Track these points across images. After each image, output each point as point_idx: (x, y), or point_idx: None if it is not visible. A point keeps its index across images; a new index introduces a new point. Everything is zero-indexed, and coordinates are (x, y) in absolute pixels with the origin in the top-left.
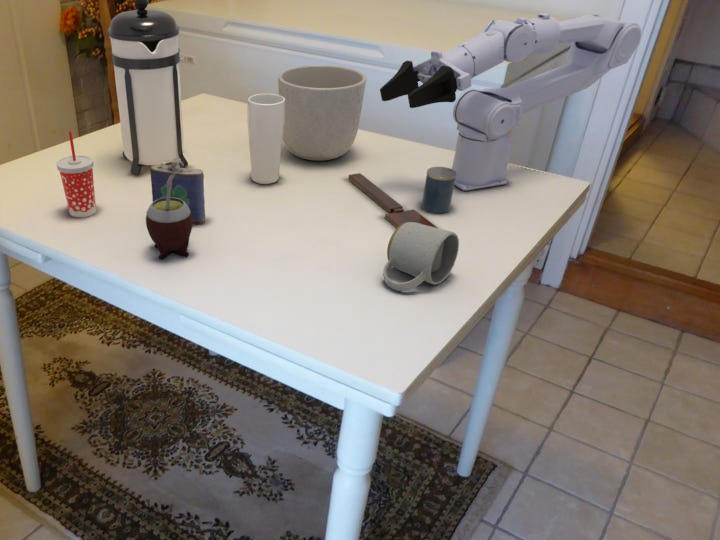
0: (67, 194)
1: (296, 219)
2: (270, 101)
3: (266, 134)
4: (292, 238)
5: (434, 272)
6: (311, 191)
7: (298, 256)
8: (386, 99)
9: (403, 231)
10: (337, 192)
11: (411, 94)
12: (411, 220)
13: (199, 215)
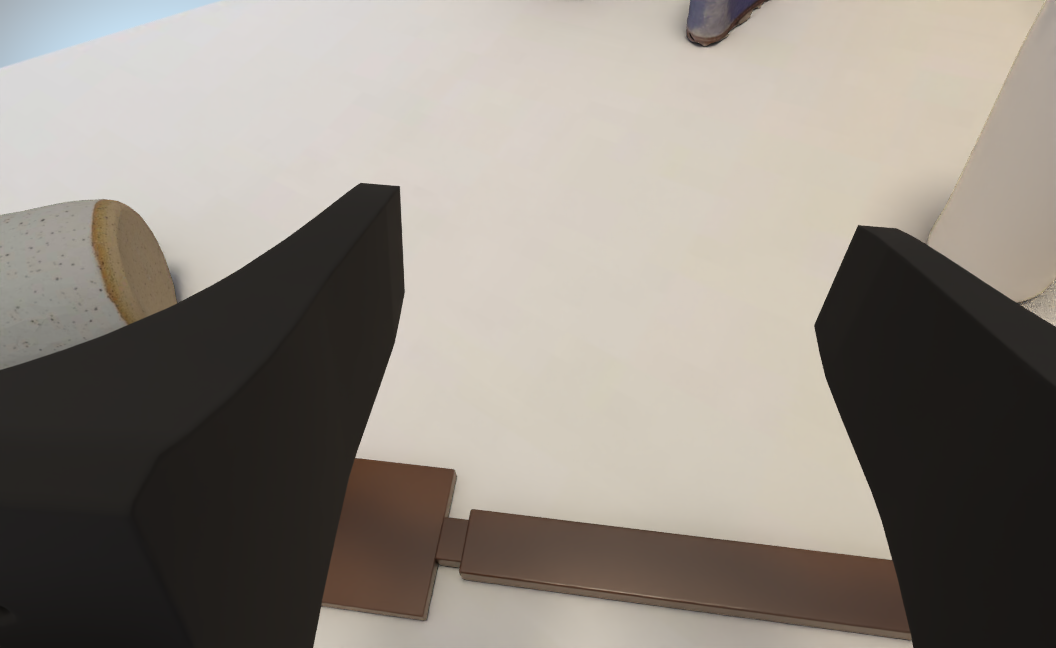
0: None
1: (604, 221)
2: None
3: (1013, 64)
4: (495, 168)
5: None
6: (815, 359)
7: (399, 144)
8: (823, 337)
9: (70, 202)
10: (771, 444)
11: (355, 188)
12: (344, 529)
13: (689, 10)
